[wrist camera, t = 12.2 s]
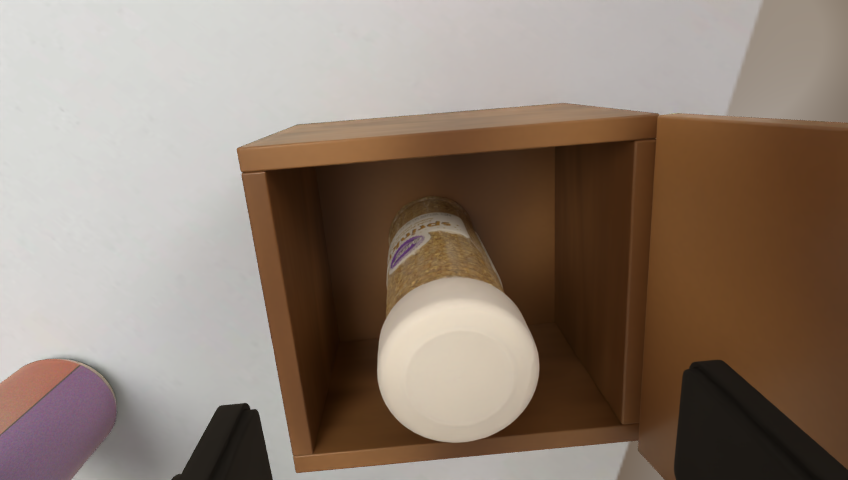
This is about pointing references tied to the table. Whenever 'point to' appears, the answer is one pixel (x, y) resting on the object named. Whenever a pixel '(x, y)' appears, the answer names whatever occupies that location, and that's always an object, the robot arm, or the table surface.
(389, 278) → the sprinkles bottle
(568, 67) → the table surface
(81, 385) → the beverage can
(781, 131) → the wooden box lid
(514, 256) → the brown wooden open box
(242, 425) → the robot arm
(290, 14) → the table surface
